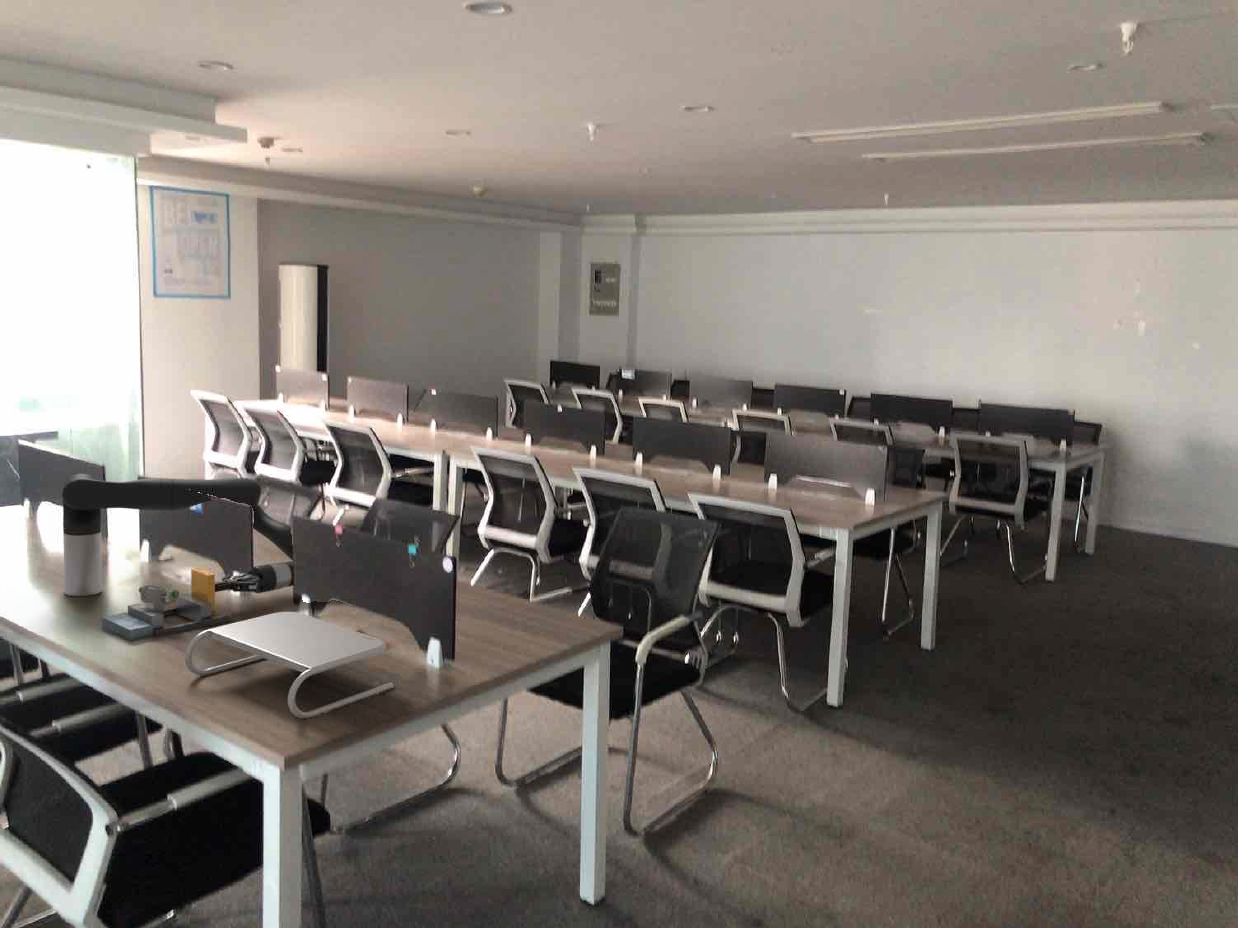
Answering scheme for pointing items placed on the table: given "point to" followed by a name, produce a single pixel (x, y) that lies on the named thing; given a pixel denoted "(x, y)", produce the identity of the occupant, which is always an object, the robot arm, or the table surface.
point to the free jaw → (198, 597)
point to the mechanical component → (157, 596)
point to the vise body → (150, 623)
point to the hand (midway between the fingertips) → (212, 587)
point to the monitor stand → (295, 649)
